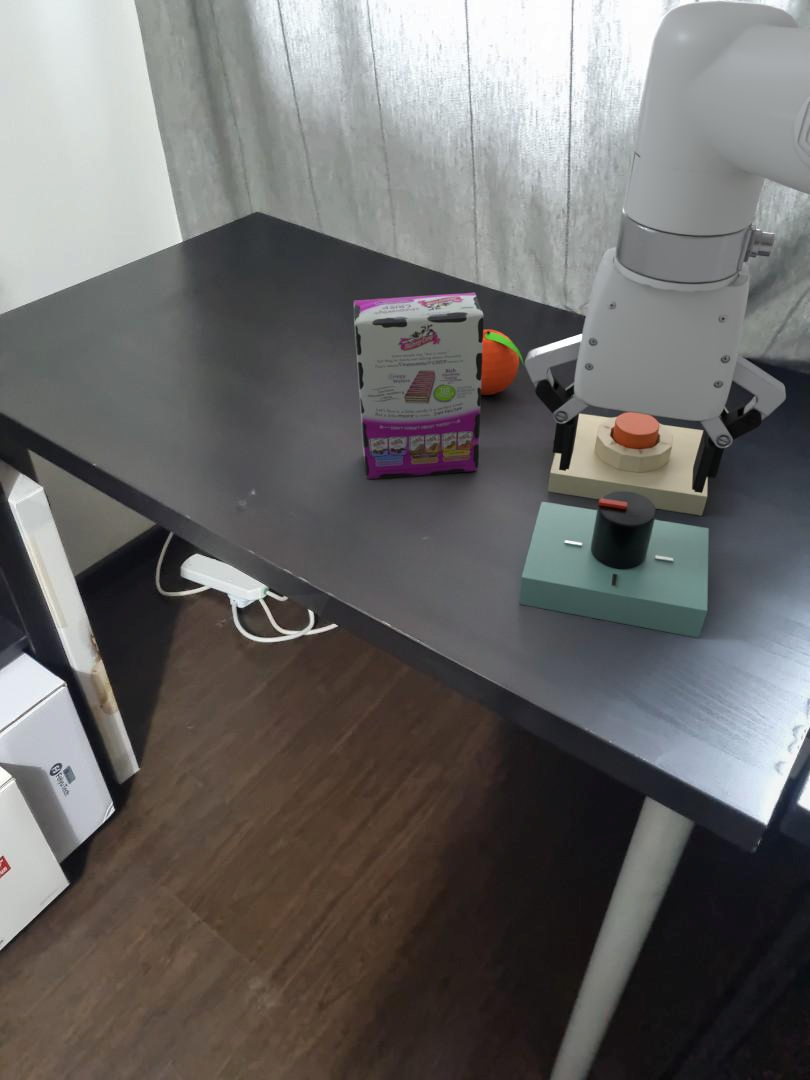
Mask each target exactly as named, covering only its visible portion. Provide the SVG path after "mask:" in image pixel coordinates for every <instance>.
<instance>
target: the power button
mask: <svg viewBox="0 0 810 1080" xmlns="http://www.w3.org/2000/svg"><path fill="white" fill-rule="evenodd" d="M616 417H617V418H616V421H615V426H614V432H613V439H614V441H615V442H616V443H617V444H619V445H621V446H624V447H626V448H631V449H638V450H641V449H647V448H651V447H653V446H654V445H655V443H656V440H657V436H658V431H659V423H660V422H659V421H658V420H657V418H655V417H654V416H653V415H647V414H640V413H633V412H627V411H626V412H623V413H621V414H619V415H618V416H616Z"/></svg>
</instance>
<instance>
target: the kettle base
mask: <svg viewBox="0 0 810 1080" xmlns="http://www.w3.org/2000/svg"><path fill="white" fill-rule="evenodd" d="M617 417H618V416H614V417H608V416H601V415H595V414H586V413H579V418H578V425H577V431H576V437H575V443H574V449H573V454H572V458H571V462H570V467H569V469H566V471H563V470H559V466H560V459H561V454H559V453H554V456H553V460H552V463H551V468H550V472H549V479H548V484H547V485H548V486H547V492H548V493H555V494H562V495H568V496H573V497H574V496H575V497H581V498H587V499H593V500H600V498H602V497H603V496H604V495H606V494H608V493H611V492H615V491H630V492H634V493H638V494H640V495H643V496H644V497H646V498H648V499H649V500H650V501H651V502H652V503H653V504H654V506H655V508H656V510H663V511H670V512H676V513H681V514H687V515H688V514H689V515H694V516H700V517H701V516H703V514H704V511H705V506H706V504H707V499H708V488H709V487H708V485H709V483H708V482H709V477H707V478H706V482H705V485H704V488H703V492H702V493H699V492H694V490H692V478H693V466H694V462H695V459H696V455H697V452H698V448H699V444H700V441H701V437H702V434H703V430H704V429H703V430H702V429H696V428H689V427H682V426H673V425H667V424H662V423H660V422H658V423H659V431H658V436H657V440H656V443H655V445H654V446H653V447H651V448H647V449H641V450H638V449H631V448H626V447H624V446H621V445H619V444H617V443H616V442H615V441H614V439H613V432H614V426H615V421H616V418H617Z"/></svg>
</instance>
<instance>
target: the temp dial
mask: <svg viewBox="0 0 810 1080" xmlns="http://www.w3.org/2000/svg"><path fill="white" fill-rule="evenodd" d="M598 500H599V499H598ZM596 510H597V514H596V519H595V525H594V531H593V536H592V542H591V552H592V554H593V556H594V557H595V558H596V560H598V561H599V562H600V563H602V564H604V565H606V566H608V567H611V568H615V569H631V568H634V567H637V566H639V565H640V564H642V563H643V562H644V560H645V558H646V555H647V551H648V546H649V542H650V538H651V534H652V529H653V525H654V521H655V520H656V515H657V509H656V508H655V506H654V504H653V503H652V502H651V501H650V500H649V499H648V498H646V497H644V496H643V495H640V494H638V493H634V492H630V491H615V492H611V493H608V494H606V495H604V496H603V497H602V498H600V500H599V501H598V503H597V509H596Z"/></svg>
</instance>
